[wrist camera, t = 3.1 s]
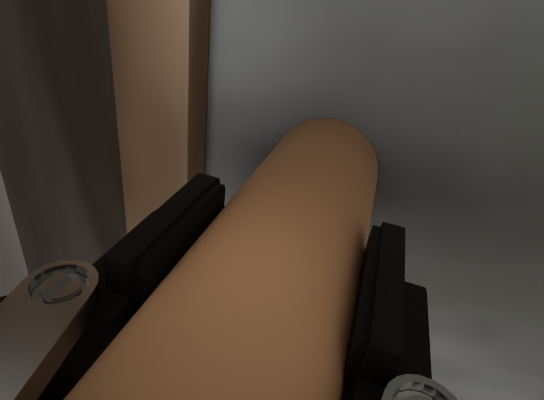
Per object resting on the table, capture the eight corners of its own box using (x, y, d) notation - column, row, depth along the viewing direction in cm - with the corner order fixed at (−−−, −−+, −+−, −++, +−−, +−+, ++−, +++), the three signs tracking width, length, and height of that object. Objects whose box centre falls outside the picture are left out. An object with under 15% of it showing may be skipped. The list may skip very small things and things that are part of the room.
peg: (391, 131, 13) (267, 1181, 2) (363, 225, 15) (217, 985, 4) (281, 107, 14) (-338, 697, 2) (268, 200, 16) (-99, 758, 4)
